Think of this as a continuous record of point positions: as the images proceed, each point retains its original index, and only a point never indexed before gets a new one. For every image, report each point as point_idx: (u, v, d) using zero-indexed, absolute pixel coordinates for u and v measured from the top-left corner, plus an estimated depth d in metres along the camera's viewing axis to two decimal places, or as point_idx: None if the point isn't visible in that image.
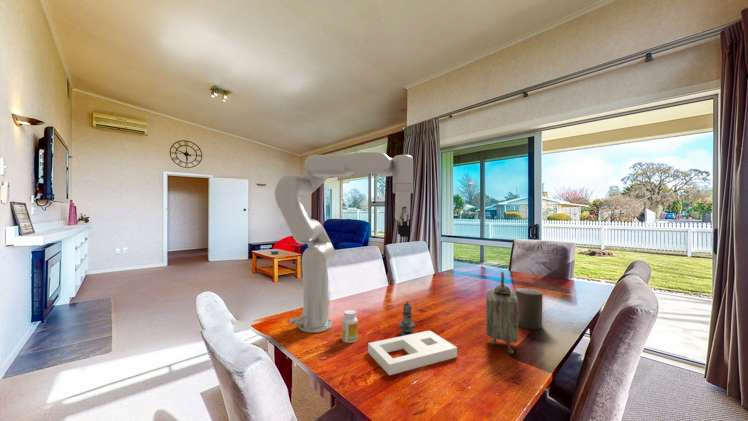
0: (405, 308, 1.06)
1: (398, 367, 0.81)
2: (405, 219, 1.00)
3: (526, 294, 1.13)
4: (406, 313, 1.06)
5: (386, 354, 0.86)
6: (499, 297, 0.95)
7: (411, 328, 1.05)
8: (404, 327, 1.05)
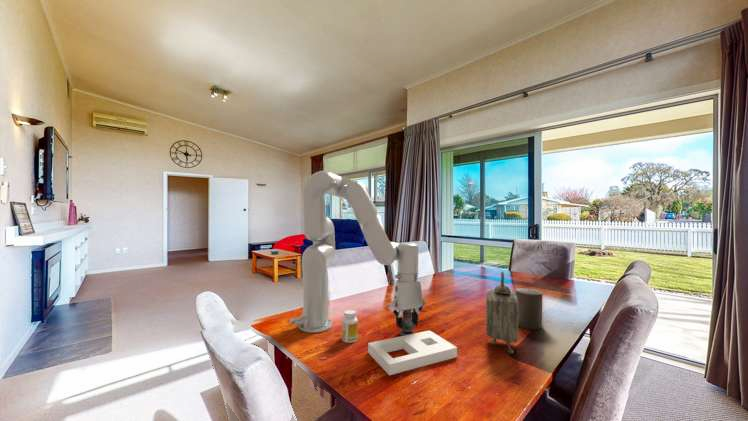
0: None
1: (398, 367, 0.81)
2: None
3: (526, 294, 1.13)
4: (406, 313, 1.06)
5: (386, 354, 0.86)
6: (499, 297, 0.95)
7: (411, 328, 1.05)
8: (404, 327, 1.05)
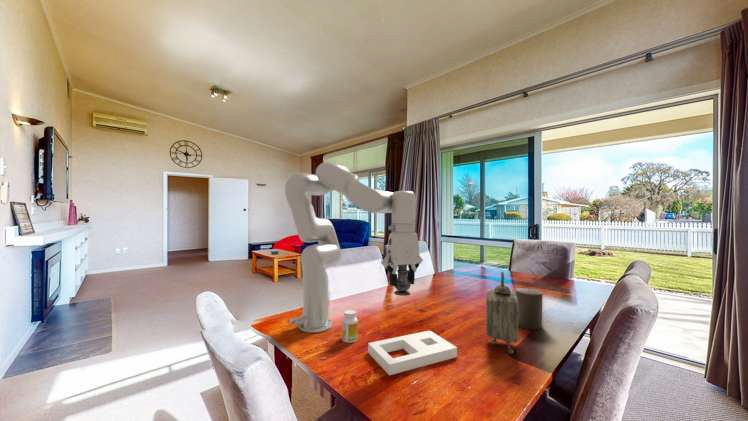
0: None
1: (398, 367, 0.81)
2: None
3: (526, 294, 1.13)
4: (401, 270, 0.94)
5: (386, 354, 0.86)
6: (499, 297, 0.95)
7: (407, 286, 0.93)
8: (399, 285, 0.93)
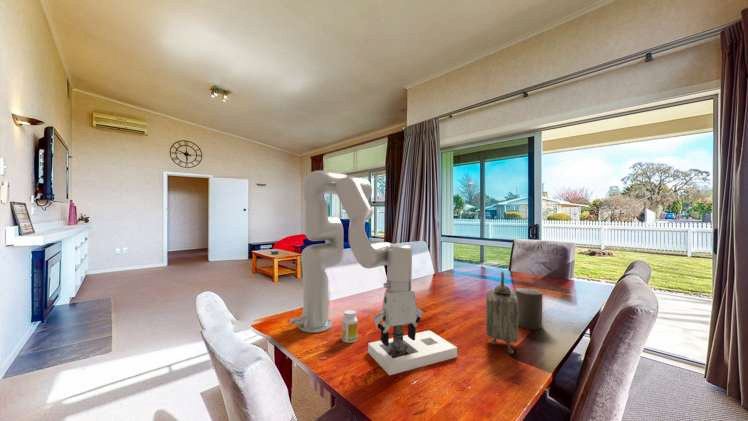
0: (395, 328, 0.89)
1: (398, 367, 0.81)
2: None
3: (526, 294, 1.13)
4: (397, 334, 0.88)
5: (386, 354, 0.86)
6: (499, 297, 0.95)
7: (402, 352, 0.88)
8: (394, 351, 0.87)
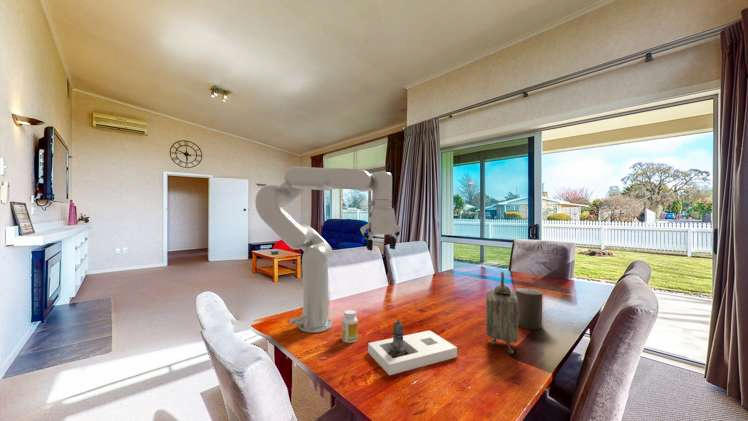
0: (395, 328, 0.89)
1: (398, 367, 0.81)
2: None
3: (526, 294, 1.13)
4: (397, 334, 0.88)
5: (386, 354, 0.86)
6: (499, 297, 0.95)
7: (403, 352, 0.88)
8: (394, 351, 0.87)
